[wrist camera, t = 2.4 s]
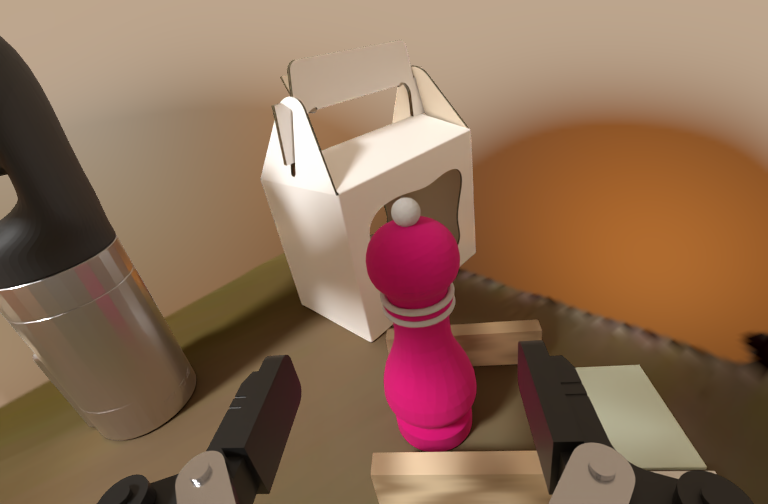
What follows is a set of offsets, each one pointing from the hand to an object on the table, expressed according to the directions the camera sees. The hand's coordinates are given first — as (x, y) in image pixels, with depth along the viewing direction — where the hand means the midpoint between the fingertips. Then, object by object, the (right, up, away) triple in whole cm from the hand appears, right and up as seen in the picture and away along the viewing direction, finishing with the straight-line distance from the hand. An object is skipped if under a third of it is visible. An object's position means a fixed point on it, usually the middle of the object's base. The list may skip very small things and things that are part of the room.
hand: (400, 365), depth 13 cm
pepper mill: (+4, -10, +19) cm, 22 cm away
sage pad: (+17, -9, +17) cm, 26 cm away
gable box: (+1, 0, +38) cm, 38 cm away
